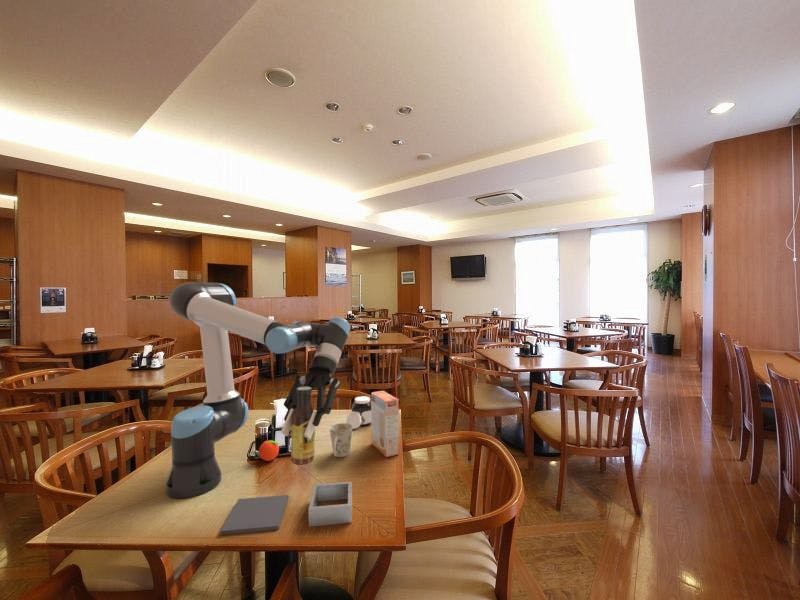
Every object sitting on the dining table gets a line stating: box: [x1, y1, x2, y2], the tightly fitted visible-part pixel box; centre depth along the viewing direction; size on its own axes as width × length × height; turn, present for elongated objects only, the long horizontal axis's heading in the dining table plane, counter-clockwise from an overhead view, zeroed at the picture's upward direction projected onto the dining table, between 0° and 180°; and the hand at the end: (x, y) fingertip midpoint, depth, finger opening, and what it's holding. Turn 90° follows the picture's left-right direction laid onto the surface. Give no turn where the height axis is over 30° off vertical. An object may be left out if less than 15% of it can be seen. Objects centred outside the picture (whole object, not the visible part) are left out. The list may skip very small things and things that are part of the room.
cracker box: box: [370, 390, 400, 458], centre depth 136 cm, size 14×6×21 cm, turn 26°
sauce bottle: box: [290, 386, 316, 466], centre depth 97 cm, size 6×6×20 cm
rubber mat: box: [220, 494, 290, 536], centre depth 97 cm, size 14×14×1 cm
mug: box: [329, 422, 353, 458], centre depth 131 cm, size 8×13×10 cm, turn 174°
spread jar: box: [346, 396, 371, 430], centre depth 162 cm, size 12×11×12 cm
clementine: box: [258, 439, 281, 462], centre depth 129 cm, size 8×7×7 cm
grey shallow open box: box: [308, 481, 353, 527], centre depth 98 cm, size 11×12×4 cm
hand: (295, 435), depth 93 cm, fingers closed on sauce bottle, 6 cm apart
